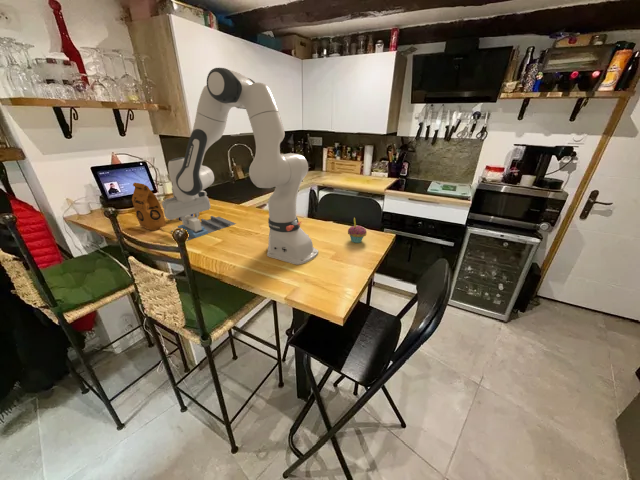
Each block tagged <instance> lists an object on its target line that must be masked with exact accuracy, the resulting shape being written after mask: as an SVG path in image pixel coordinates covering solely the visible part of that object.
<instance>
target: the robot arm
mask: <svg viewBox="0 0 640 480" xmlns="http://www.w3.org/2000/svg"><path fill="white" fill-rule="evenodd" d="M199 96H200V97H199V100H198V104H197V108H196V114H195V118H194V122H193V123H194V124H193V128H192V131H191V134H190V136H189V139H188V142H187V146H186V150H185V151H186V152H185V154H184V155H185V156H184V157H183V156H181V157H177V158H172V159H170V160H169V161H168V164H167V168H168V174H169V179H170V181H171V183H172V184H173V185H172V187H173V192H174V196H175V197H174V196H172V197H169V198H164V200H162V202H161V205H162V208H163V214H164V218H166V219H167V220H169V221H171V220H172V221H173V220H175V219H179V218H181V219H182V220H183V221H184V224H185V225H188V224H189V221H187V220H185V219H184V218H185V216H187V215H191V214H194V217H195V218H197V219H199V216H200V213H202V212H205V211H209V210H210V209H211V203H210V199H209V197H208V196H207V195H208V193H207V191H205V189H207V188H208V187H210V186H211V185H212V184H214V182H215V174H214V171H213V170H212V169H211V168H210V167H209V166H208V165H203V161H204V158H205V155H206V152H207V151H208V149H209V148H210V147H211V146H212V145H213V144H214V143H216V142H218V141H219V140H220V139H221V138H222V137H223V135H224V132H225V130H226V127H227V122H228V116H229V112H230V110H231V109H232V108H236V109H242V110H245V111H246V113H247V116H248V120H249V123H250V126H251V130H252V134H253V137H254V142H255V155H254V158H253V160H252V162H251V163H250V166H249V168H248V169H249V170H248V175H249V178H250V181H251V182H252V183H253V185H254V186H256V187H257V188H260V189H271V188H272V189H273V188H274V191H273V192H272V194H271V195H270V196H269V198H268V201H267V205H268V206H267V207H268V216H269V217H268V221H267V222H268V228H269V234H268V246H267V252H266V256H267V257H269V258H272V259H276V260H279V261H282V262H285V263H290V264H293V265H296V266H297V265H303V264H306V263H308V262H309V261H311V260H314V258H316V257H317V256H318V255H319V250H318V249H317V248H315V247H313V245H314V244H313V240H312V238H311V237H310V235H309V234H308V233H306V232H305V231H304V230H303V229H302V228H301V225H302V221H299V219H298V216H297V198H298V193H299V190H300V186H301V184H302V182H303V180H304V179H305V178H306V176H307V174H308V172H309V162H308V161H307V159H306V158H305V156H304V155H302V154H298V153H292V152H291V153H282V154H281V151H280V150H281V148H280V147H281V143H282V142H283V140H284V138H285V135H286V134H285V128H284V126H283V122H282V119H281V116H280V111H279V108H278V106H277V101H276V100H275V98H274V96H273V93H272V91H271V89H270V88H269V86H268V85H267V84H265V83H263V82H255V80H253V79H251V78H248V77H246V76H245V75H242V74H241V73H239V72H237V71H234V70H230V69H228V68H225V67H215V68H212V69H211V70H210V71H209V72H208V74H207V76H206V85H205V86H204V87H203V88H202V91H201V94H200V95H199ZM173 192H172V193H173ZM182 220H181V221H182Z"/></svg>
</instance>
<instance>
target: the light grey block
mask: <svg viewBox="0 0 640 480" xmlns="http://www.w3.org/2000/svg"><path fill="white" fill-rule="evenodd" d="M184 219H185V220H187V221H189V224H188V225H185V224H184V221H183V220H181V222H182V225H184V226H186V227H188V228H190V229H192V230H193V231H195V232H196V231H199V230H202V228H201V223H200V222H201V219H199V218H198V219H197V218H195V216H191V215H187V216H185V218H184Z"/></svg>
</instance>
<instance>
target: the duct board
mask: <svg viewBox="0 0 640 480" xmlns="http://www.w3.org/2000/svg"><path fill="white" fill-rule="evenodd" d="M200 223H201V228H202V230H199V231H196V232H195V231H193V230H192V229H190V228H188V227H186V226H184V225H183V224H180V225H177V229H178V228H183V229H185V230H187V232H188V234H189V237H188V240H186V242H188V241H191V240H193V239H197V238H199V237H202V236H205V235H208V234H211V233H215V232H218V231H219V230H223V229H226V228H228V227H232V226H234V225H237V223H235V222H233V221H231V220H229V219H225V218H224V217H221V216H214V215H210V218H209V219H204V218H200ZM170 232H171V233H172V232H173V230H170Z"/></svg>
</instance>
